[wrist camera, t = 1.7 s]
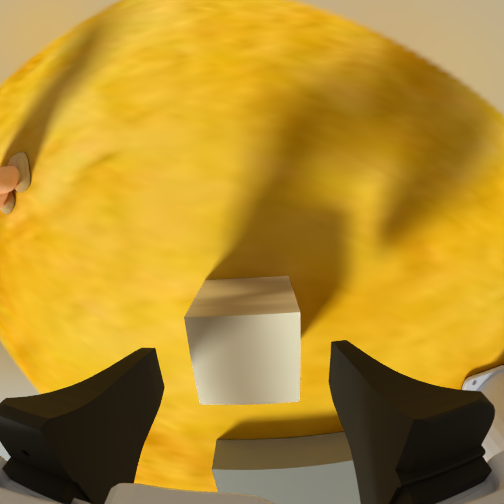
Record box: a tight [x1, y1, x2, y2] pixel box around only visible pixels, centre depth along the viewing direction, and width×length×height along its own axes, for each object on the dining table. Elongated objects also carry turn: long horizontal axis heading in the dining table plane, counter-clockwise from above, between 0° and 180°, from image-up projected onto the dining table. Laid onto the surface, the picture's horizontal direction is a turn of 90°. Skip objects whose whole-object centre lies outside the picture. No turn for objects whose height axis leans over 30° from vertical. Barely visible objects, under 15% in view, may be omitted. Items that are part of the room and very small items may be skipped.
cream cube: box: [184, 276, 300, 405], centre depth 15 cm, size 4×4×5 cm
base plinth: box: [212, 432, 361, 504], centre depth 19 cm, size 12×12×3 cm
